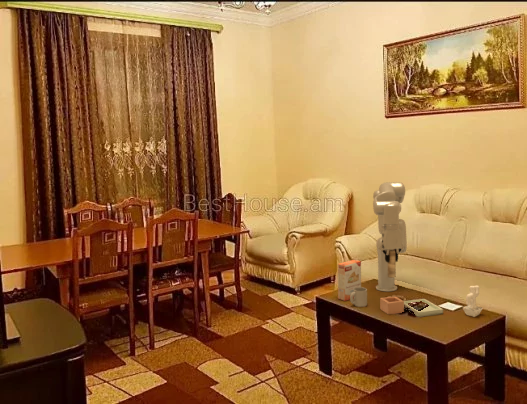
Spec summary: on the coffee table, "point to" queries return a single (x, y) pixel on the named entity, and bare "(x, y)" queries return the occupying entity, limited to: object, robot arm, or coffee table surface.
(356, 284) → the cracker box
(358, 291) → the cup
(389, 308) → the holder
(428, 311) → the tray
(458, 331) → the coffee table surface
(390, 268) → the dowel
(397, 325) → the coffee table surface
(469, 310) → the figurine
